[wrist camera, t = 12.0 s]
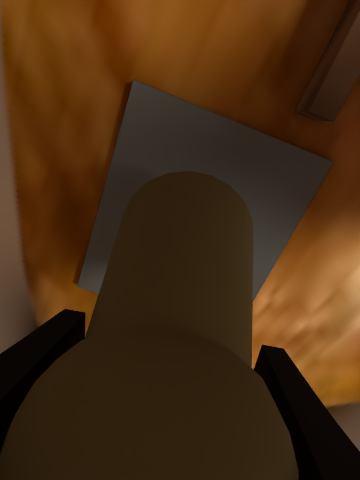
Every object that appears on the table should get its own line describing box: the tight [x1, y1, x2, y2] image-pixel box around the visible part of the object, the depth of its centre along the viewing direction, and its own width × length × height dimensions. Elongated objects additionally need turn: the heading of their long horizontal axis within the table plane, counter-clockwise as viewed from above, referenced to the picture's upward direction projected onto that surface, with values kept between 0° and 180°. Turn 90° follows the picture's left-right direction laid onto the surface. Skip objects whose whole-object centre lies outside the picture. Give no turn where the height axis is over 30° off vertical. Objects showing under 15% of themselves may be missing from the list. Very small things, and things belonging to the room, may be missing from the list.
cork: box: [0, 171, 299, 480], centre depth 9 cm, size 6×6×11 cm
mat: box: [78, 80, 334, 300], centre depth 18 cm, size 13×11×1 cm
